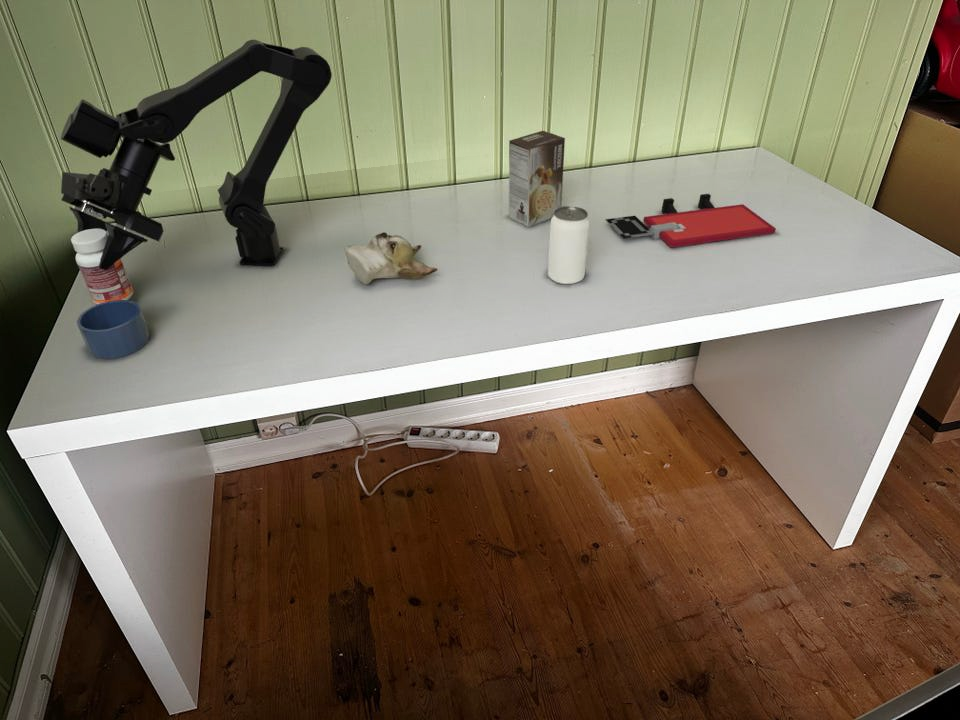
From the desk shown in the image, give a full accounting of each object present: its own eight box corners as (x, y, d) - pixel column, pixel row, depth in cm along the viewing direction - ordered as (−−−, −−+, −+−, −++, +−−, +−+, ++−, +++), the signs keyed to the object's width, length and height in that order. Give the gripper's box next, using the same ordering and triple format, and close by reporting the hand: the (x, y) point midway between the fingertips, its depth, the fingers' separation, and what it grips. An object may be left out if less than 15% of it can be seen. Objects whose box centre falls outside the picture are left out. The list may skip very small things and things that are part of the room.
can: (560, 289, 117) (565, 224, 110) (540, 272, 122) (543, 209, 115) (591, 280, 120) (598, 216, 112) (571, 264, 124) (576, 202, 117)
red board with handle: (600, 219, 138) (633, 254, 127) (602, 206, 136) (636, 241, 125) (731, 203, 145) (774, 235, 133) (734, 190, 143) (777, 221, 132)
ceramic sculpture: (336, 224, 118) (420, 215, 123) (340, 269, 123) (420, 258, 128) (350, 252, 110) (439, 240, 115) (354, 298, 115) (438, 285, 120)
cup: (159, 327, 109) (150, 300, 106) (133, 360, 102) (122, 332, 99) (107, 325, 110) (96, 298, 107) (77, 357, 103) (65, 330, 100)
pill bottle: (137, 299, 113) (113, 237, 106) (97, 311, 110) (70, 248, 103) (129, 284, 117) (106, 223, 110) (90, 295, 114) (64, 233, 107)
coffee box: (540, 205, 145) (543, 129, 135) (561, 215, 141) (566, 137, 131) (507, 217, 140) (508, 139, 130) (528, 228, 136) (531, 148, 126)
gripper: (50, 137, 106) (8, 229, 105) (119, 161, 97) (74, 262, 97) (114, 169, 116) (76, 254, 115) (182, 194, 107) (142, 285, 107)
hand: (90, 263), depth 108 cm, fingers closed on pill bottle, 6 cm apart
